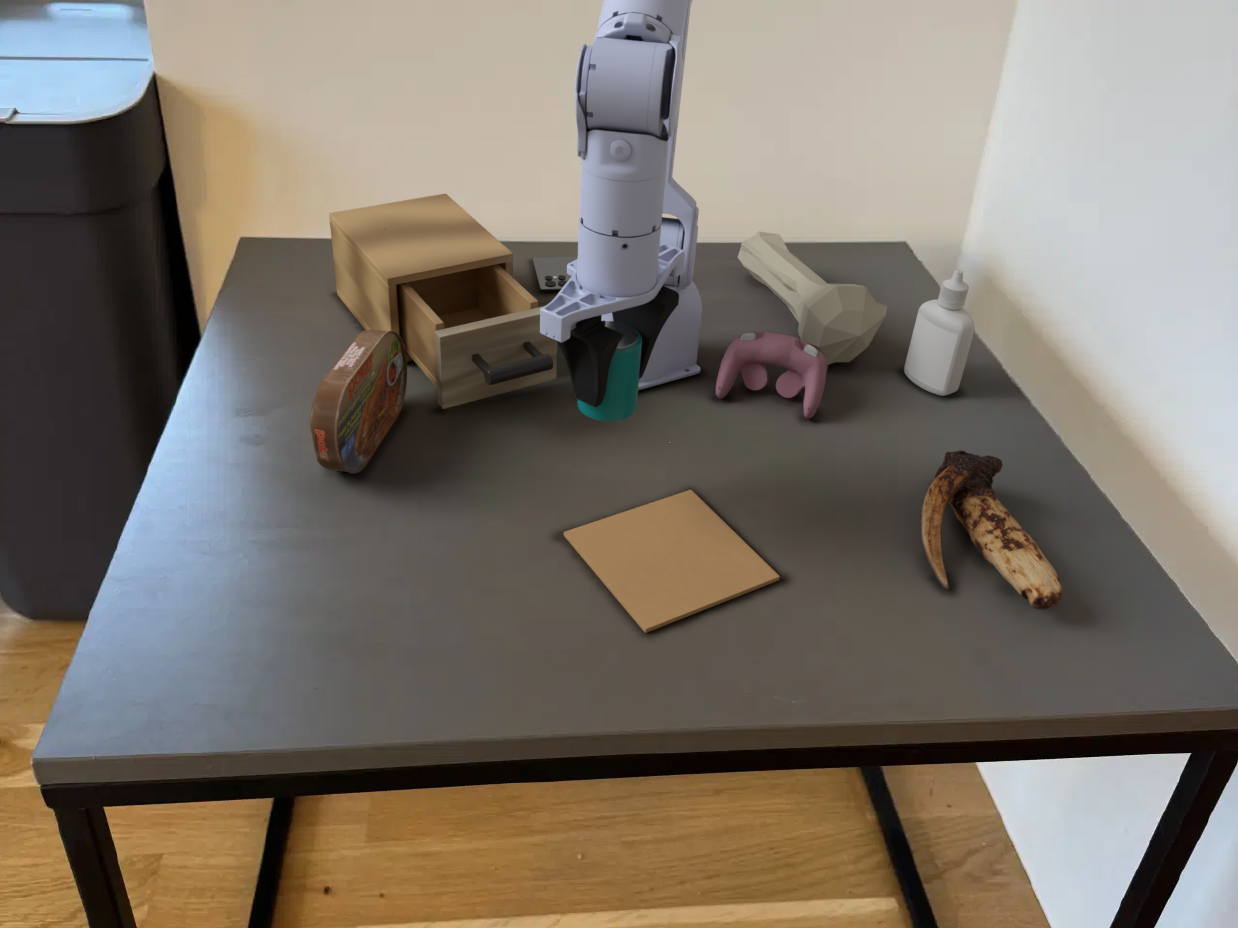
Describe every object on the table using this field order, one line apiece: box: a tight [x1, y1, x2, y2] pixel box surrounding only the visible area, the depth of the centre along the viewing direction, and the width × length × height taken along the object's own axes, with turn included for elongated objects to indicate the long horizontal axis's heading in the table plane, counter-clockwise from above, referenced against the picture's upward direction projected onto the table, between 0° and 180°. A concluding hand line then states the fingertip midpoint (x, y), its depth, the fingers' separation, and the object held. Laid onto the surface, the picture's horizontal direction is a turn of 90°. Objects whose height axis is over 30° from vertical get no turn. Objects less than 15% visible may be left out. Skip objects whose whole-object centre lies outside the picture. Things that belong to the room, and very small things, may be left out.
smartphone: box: [532, 255, 578, 292], centre depth 122 cm, size 8×1×16 cm
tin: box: [309, 329, 408, 474], centre depth 92 cm, size 15×3×8 cm, turn 168°
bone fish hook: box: [920, 449, 1063, 610], centre depth 86 cm, size 9×5×18 cm
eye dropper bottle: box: [903, 268, 976, 397], centre depth 104 cm, size 4×6×12 cm
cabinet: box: [328, 192, 514, 363], centre depth 110 cm, size 16×13×9 cm
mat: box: [563, 489, 781, 634], centre depth 85 cm, size 12×12×1 cm
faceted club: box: [737, 231, 888, 366], centre depth 115 cm, size 9×8×25 cm
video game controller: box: [715, 331, 829, 420], centre depth 103 cm, size 10×5×7 cm, turn 71°
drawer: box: [396, 264, 558, 410], centre depth 101 cm, size 19×11×7 cm, turn 31°
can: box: [576, 321, 642, 422], centre depth 83 cm, size 5×5×6 cm
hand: (609, 387), depth 84 cm, fingers closed on can, 4 cm apart
